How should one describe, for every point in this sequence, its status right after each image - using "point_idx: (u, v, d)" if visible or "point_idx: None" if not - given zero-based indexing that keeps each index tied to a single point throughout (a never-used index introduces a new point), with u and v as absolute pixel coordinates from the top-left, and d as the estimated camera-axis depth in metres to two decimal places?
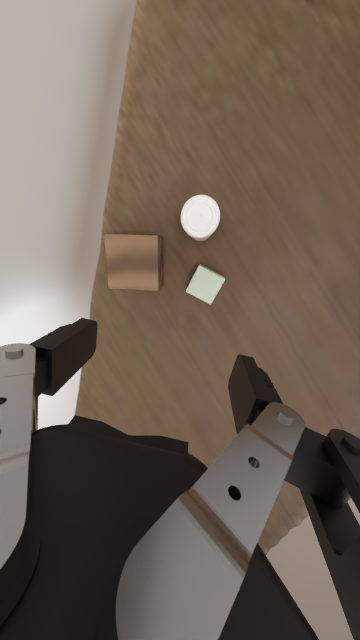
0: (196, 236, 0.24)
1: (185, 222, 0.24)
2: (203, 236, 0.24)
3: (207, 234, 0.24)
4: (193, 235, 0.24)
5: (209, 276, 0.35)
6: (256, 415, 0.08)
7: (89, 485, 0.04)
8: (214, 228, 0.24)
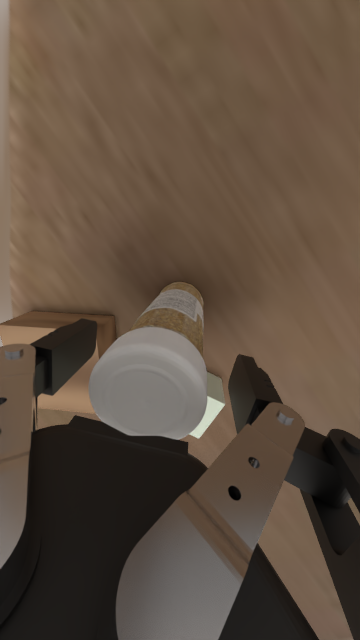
0: None
1: (102, 412, 0.08)
2: None
3: None
4: None
5: None
6: (256, 415, 0.08)
7: (89, 485, 0.04)
8: (190, 430, 0.08)
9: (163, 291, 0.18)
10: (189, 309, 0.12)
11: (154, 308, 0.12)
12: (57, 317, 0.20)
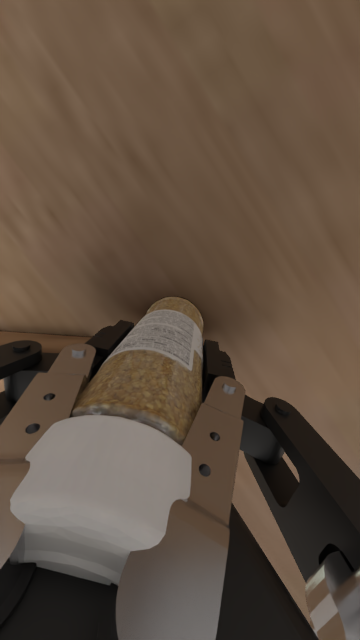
0: None
1: None
2: None
3: None
4: None
5: None
6: (208, 388, 0.09)
7: None
8: None
9: (151, 310, 0.14)
10: (182, 346, 0.08)
11: (127, 349, 0.07)
12: (19, 340, 0.16)
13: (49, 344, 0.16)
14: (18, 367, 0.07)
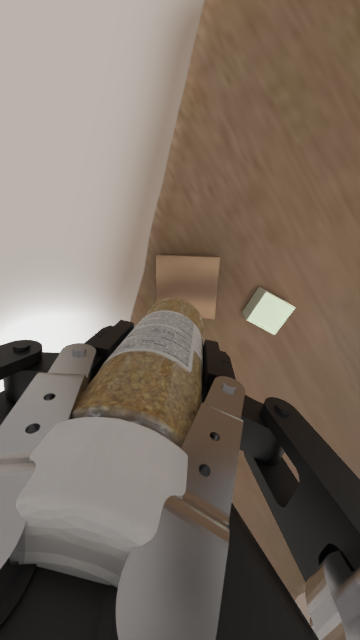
0: None
1: None
2: None
3: None
4: None
5: (276, 303, 0.30)
6: (208, 388, 0.09)
7: None
8: None
9: (151, 311, 0.14)
10: (182, 347, 0.08)
11: (126, 350, 0.07)
12: (183, 255, 0.31)
13: None
14: (18, 367, 0.07)
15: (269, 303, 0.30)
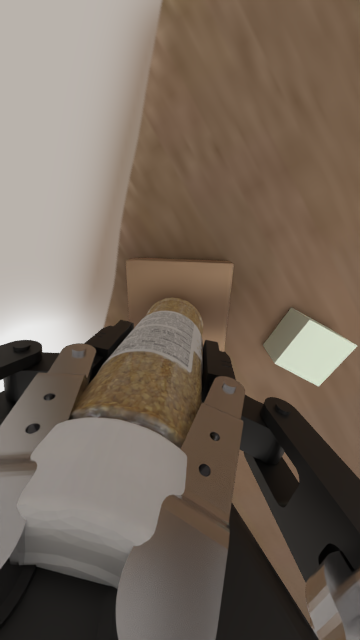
0: None
1: None
2: None
3: None
4: None
5: (325, 339, 0.18)
6: (208, 388, 0.09)
7: None
8: None
9: (151, 311, 0.14)
10: (182, 348, 0.08)
11: (126, 351, 0.07)
12: (174, 259, 0.20)
13: None
14: (18, 367, 0.07)
15: (313, 338, 0.18)
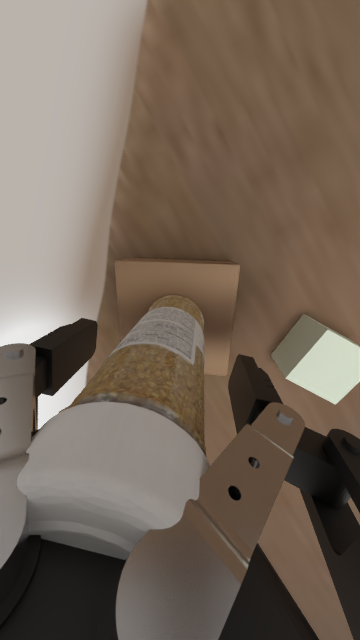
0: None
1: None
2: None
3: None
4: None
5: (345, 352, 0.16)
6: (256, 415, 0.08)
7: None
8: None
9: (152, 307, 0.14)
10: (185, 341, 0.09)
11: (131, 344, 0.08)
12: (170, 260, 0.17)
13: (203, 261, 0.17)
14: None
15: (331, 351, 0.16)
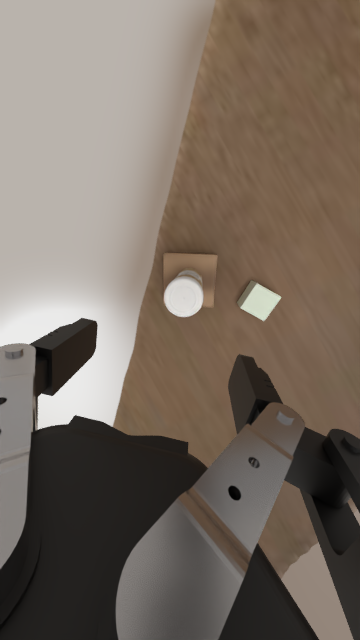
0: (180, 316, 0.24)
1: (168, 303, 0.24)
2: (187, 316, 0.24)
3: (191, 314, 0.24)
4: (177, 315, 0.24)
5: (265, 294, 0.36)
6: (256, 415, 0.08)
7: (89, 485, 0.04)
8: (197, 309, 0.24)
9: (181, 272, 0.34)
10: (196, 276, 0.28)
11: (181, 274, 0.27)
12: (187, 253, 0.37)
13: None
14: None
15: (259, 293, 0.36)
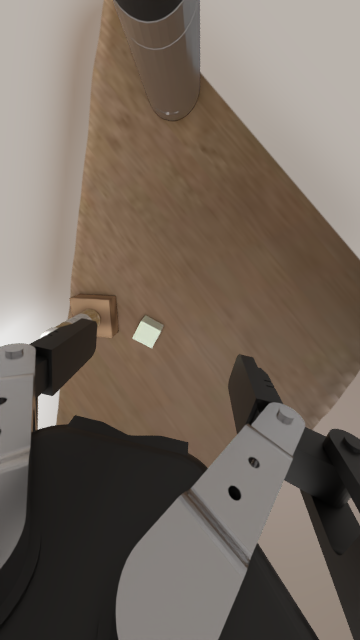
0: None
1: None
2: None
3: None
4: None
5: (149, 328, 0.47)
6: (256, 415, 0.08)
7: (89, 485, 0.04)
8: None
9: (80, 313, 0.45)
10: None
11: (64, 322, 0.38)
12: (91, 296, 0.48)
13: (102, 297, 0.47)
14: None
15: (144, 328, 0.47)
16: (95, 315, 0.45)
